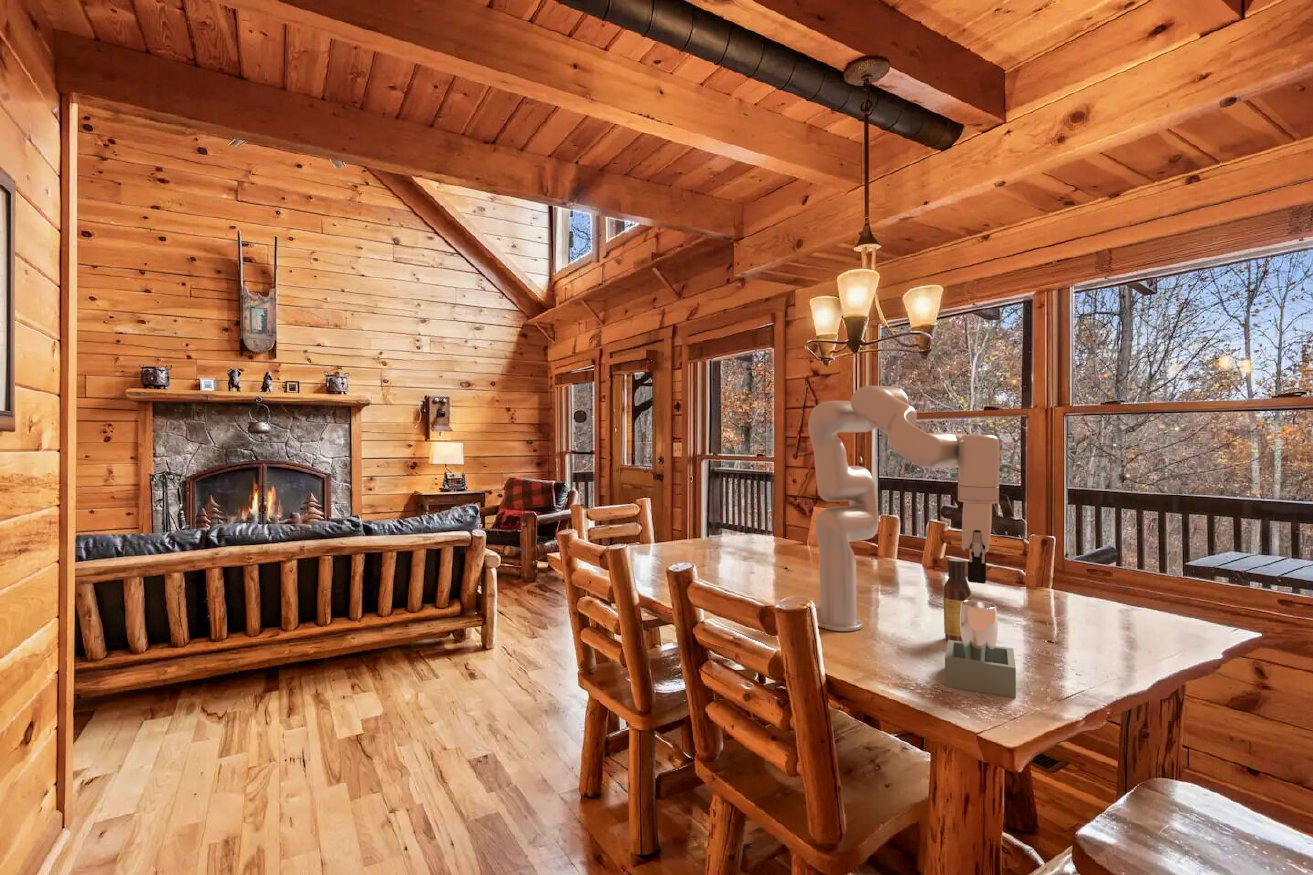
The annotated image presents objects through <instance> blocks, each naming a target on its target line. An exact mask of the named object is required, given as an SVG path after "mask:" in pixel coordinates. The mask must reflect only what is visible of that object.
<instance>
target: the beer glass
mask: <svg viewBox="0 0 1313 875" xmlns="http://www.w3.org/2000/svg"><path fill="white" fill-rule="evenodd" d="M998 622H999V621H998V611H997V605H996V604H995V603H992V602H990V601H985V600H977V599H971V600H965V601H962V602H961V609H960V632H961V638H962V643H963V648H964V656H965V659H971V660H978V661H985V662H992V663H993V658H994V651H995V646H997V640H998V633H999V632H998V630H999V628H998V627H999V626H998V625H999V624H998Z"/></svg>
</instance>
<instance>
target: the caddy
mask: <svg viewBox="0 0 1313 875" xmlns="http://www.w3.org/2000/svg"><path fill="white" fill-rule="evenodd" d="M1014 651H1015V650H1014V648H1012V647H1008V646H1007V647H1005V646H997V645H996V646H995V651H994V658H993V663H992V662H985V661H978V660H971V659H965V656H964V648H963V643H962V642H961V641H953V640H947V645H946V650H945V655H944V687H946V688H950V689H951V688H953V689H958V690H964V691H970V692H978V693H983V694H989V695H995V696H1001V697H1002V696H1003V697H1008V698H1013V699H1014V698H1015V699H1016V698H1017V680H1016V678H1017V676H1016V675H1017V674H1016V671H1017V670H1016V669H1017V668H1016V662H1015V661H1016V660H1015V652H1014Z"/></svg>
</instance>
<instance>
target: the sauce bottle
mask: <svg viewBox="0 0 1313 875" xmlns="http://www.w3.org/2000/svg"><path fill="white" fill-rule="evenodd" d="M966 564H967V562H966V560H965V559H962V558H948V559H947V566H948V574H947V575H948V578H947V580H946V581H945V583H944V586H943V620H944V621H943V622H944V623H943V624H944V625H943V626H944V627H943V628H944V630H943V631H944V638H945V640H946V641H948V640H953V641H961V642H962V638H961V632H960V609H961V602H962V601H965V600H972V591H971V588H970V586H969V582H968V579H967V577H966V567H967V566H966Z"/></svg>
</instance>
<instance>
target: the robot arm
mask: <svg viewBox="0 0 1313 875" xmlns="http://www.w3.org/2000/svg"><path fill="white" fill-rule="evenodd" d="M907 395H908V394H906V393H905V391H904V390H903V389H902V388H899V387H896V386H893V385H864V386H862V387H859V388H858V389H856V390H855V391H854V392H853V393H852V396H851V398H850V400H828V401H823V402H820V403H818V404H817V405H816V406H814V407H813V409H812V410H811V412H810V415H809V417H808V424H807V426H808V427H807V428H808V435H809V440H810V443H811V446H812V450H813V458H814V468H815V477H816V478H815V480H816V488H817V493H818V495H819V496H820V499H822V500H823V501H826V502H848V505H843V506H842V505H840V506H839V505H838V506H831V507H826V508H824V509H822V510H820V511H819V512H818V514H817V515H816V517H815V519H814V529H815V534H816V538H817V539H816V540H817V544H818V562H819V563H818V565H819V566H818V568H819V574H818V575H819V576H818V577H819V578H818V579H819V586H818V587H819V605H816V606H814V607H815V608H816V611H817V619H818V623H819V628H821V627H822V628H821V629H823V628H825V629H824V630H827V629H828V630H829V631H835V632H854V631H858V630H860V629H862V628H863V627H864V626H863V625H864V622H863V620H861V619H860V618H859V617H857V615H858V614H857V559H856V555H855V553H854V550H853V548H852V546H851V545H850V542H851V543H852V542H857V541H858V542H859V541H865V540H869V539H872V538H874V537H875V535H876V534H877V533H878V530H879V522H880V521H879V512H878V510H879V509H878V501H877V492H876V491H877V490H876V484H875V480H874V478H873V476H872V474H871V472H870V471H869V470H868V469H867V468H865V467H864V466H860V465H849V463H848V459H847V457H848V456H847V450H846V447H845V445H844V443H843V441H842V439H841V438H840V437H839V436H838V435H837V434H838V433H867V432H871V431H873V430H876V429H878V430H880V431H881V432H883V433H884V434H885V435H887V436H888V437H887V438H888V441H889V444H890V446H891V448H892V449H893V450H894V451H895V452H896V453H897V454H898V455H900V456H901V457H902V458H904V459H905V460H907V461H909V463H911V464H913V465H915V466H917V467H921V468H924V469H944V468H946V469H948V468H949V469H953V468H957V469H958V471H957V472H958V473H957V478H958V479H957V484H958V485H957V501H958V502H960V503H963V505H962V518H961V522H962V524H961V549H962V551H966V550H969V552H968V561H967V582H968V583H974V584H986V582H987V554H986V553H987V552H989V548H990V543H991V535H992V521H993V520H992V519H993V504H999V503H1000V451H1001V450H1000V439H999V438H998V437H997V436H996V435H992V434H965V433H957V432H931V433H930V432H926V431H924V430H922V429H920V428H918V427H917V426H915V425H916V423H917V419H918V415H917V414H918V413H917V411H916V409H915V408H914V407H913V406H912V405H910V404H909V403H910V402H909V398H908V396H907ZM828 630H827V631H828Z"/></svg>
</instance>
